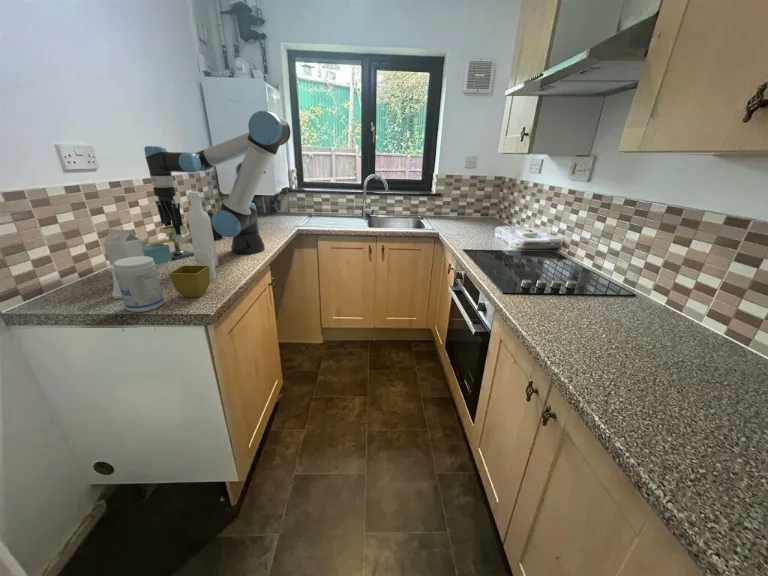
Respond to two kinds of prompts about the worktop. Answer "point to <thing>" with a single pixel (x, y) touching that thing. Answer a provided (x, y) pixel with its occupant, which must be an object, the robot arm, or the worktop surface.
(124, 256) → the milk carton
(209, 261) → the cup
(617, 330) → the worktop surface
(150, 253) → the teal block
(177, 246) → the key
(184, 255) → the plate
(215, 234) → the squash
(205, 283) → the flower pot
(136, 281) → the supplement tub
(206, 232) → the bottle
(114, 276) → the salt shaker
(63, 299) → the worktop surface
